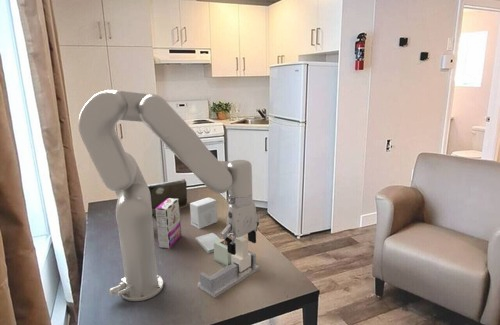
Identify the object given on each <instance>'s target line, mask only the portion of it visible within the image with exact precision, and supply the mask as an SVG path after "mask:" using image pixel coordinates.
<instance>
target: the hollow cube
mask: <svg viewBox="0 0 500 325" xmlns="http://www.w3.org/2000/svg"><path fill="white" fill-rule="evenodd" d="M231 255H233V254H231V253H229V252H228V250H227V246H226V245H224V243H223V238H222V237H221V238H220V240H218V241H216V242H214V252H213V258H214V259H213V260H214V262H217V263H218V264H220V265H222V266H223V267H224V268H225V267H227V266H228V265H230V264H232V261H231Z"/></svg>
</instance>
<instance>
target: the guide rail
mask: <svg viewBox="0 0 500 325" xmlns="http://www.w3.org/2000/svg"><path fill="white" fill-rule="evenodd" d="M248 253H250V254H251V266H250V267H248V268H246V269H245V270H243V271H242V272H240V271H239V264H237V263H233V264H230V265H228V266H227V267H225V266H224V267H223V268H221V269H220V270H218V271H217V272H215V273H213V274H212V275H208V274H207V273H205V272H203V271H202V272H200V273H199V280H200V281H198V282H197V288H199V289H201V290H202V291H203V292H204V293H205V292H206V293H207V294H208V295H209V296H211V297H213V298H214V299H216V298H217V297H219V296H220V295H222V294H224V292H226V291H228V290H230V289H231V288H233V287H234V286H235V285H236V286H237V284H238V283H240V282H242V281H243V280H244V279H246V278H249V276H251V275H253V274H254V273H255V272H257V271H259V270H260V265H258V264H256V263H257V254H256V253H254V252H252V251H250V250H248Z"/></svg>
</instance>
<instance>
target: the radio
mask: <svg viewBox="0 0 500 325" xmlns="http://www.w3.org/2000/svg"><path fill="white" fill-rule="evenodd" d="M147 186H148V188H149V191H150V194H151V205H152V217H156V212H155V208H157V207H158V206H159V205H160V204H162V203H163V202H164V201H165V200H166V199H167V198H174V199H179V210H182V208H185V207H188V205H189V204H188V190H187V188H188V187H187V181H186V179H185V178H183V179H176V180H175V179H174V180H171V181H165V182H158V183H153V184H152V183H151V184H147Z"/></svg>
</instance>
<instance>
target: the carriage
mask: <svg viewBox="0 0 500 325" xmlns="http://www.w3.org/2000/svg"><path fill="white" fill-rule="evenodd" d="M234 243H235V244H236V254H235V255H231V261H232V264H233V263H237V264H239V271H240V272H242V271H243V270H245V269H246V268H248V267H250V266H251V254H250V253H248V251H249V241H248V237H247V238H246V237H244V236H241V237H236V239H235V241H234Z"/></svg>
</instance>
